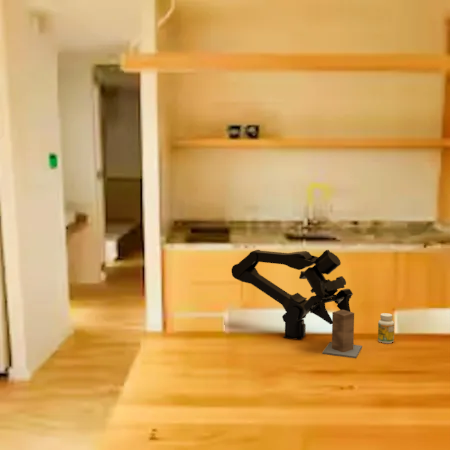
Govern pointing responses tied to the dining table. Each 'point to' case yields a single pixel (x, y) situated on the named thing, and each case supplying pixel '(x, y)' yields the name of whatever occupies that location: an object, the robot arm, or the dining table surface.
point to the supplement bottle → (386, 328)
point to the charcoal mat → (349, 353)
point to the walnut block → (342, 330)
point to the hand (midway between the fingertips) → (341, 321)
